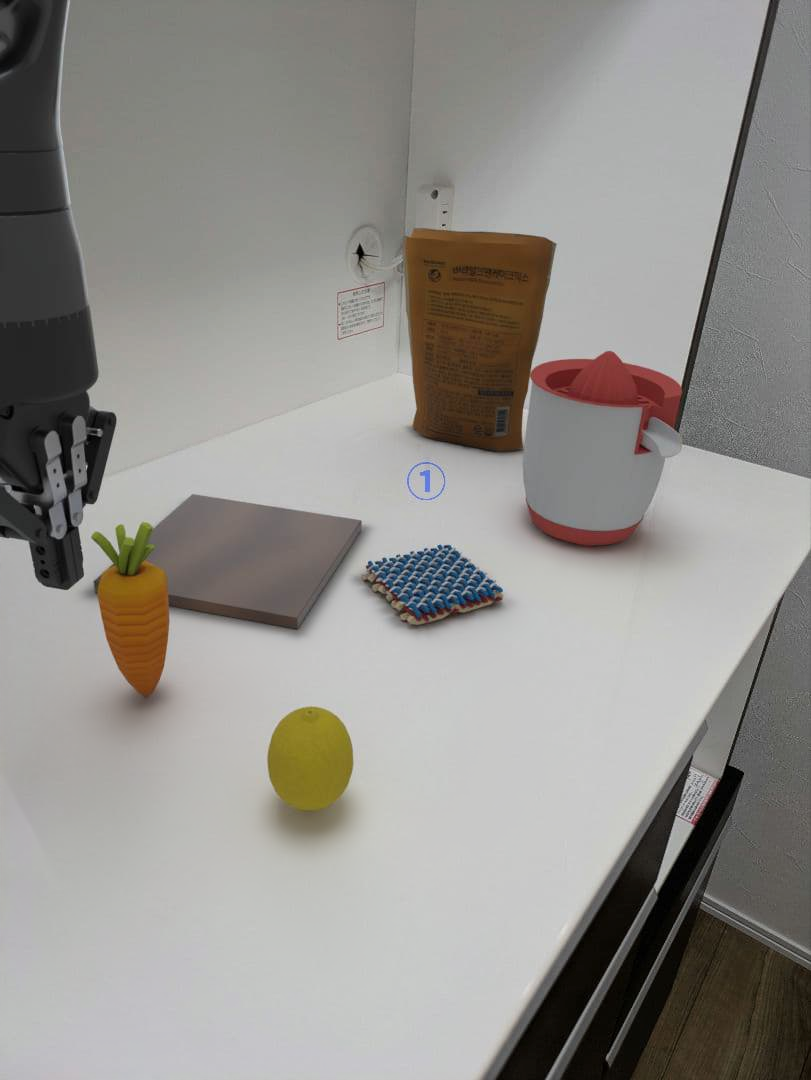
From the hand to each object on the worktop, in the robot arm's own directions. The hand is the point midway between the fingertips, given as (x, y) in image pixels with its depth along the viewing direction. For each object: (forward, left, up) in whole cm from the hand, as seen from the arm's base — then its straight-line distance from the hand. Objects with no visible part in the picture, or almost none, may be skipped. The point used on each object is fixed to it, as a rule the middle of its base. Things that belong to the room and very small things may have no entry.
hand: (62, 582), depth 51 cm
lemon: (+16, 0, -15) cm, 22 cm away
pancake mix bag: (+14, +69, -15) cm, 72 cm away
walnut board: (-2, +29, -15) cm, 33 cm away
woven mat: (+18, +29, -15) cm, 38 cm away
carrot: (0, +7, -15) cm, 17 cm away
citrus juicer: (+32, +48, -15) cm, 60 cm away
